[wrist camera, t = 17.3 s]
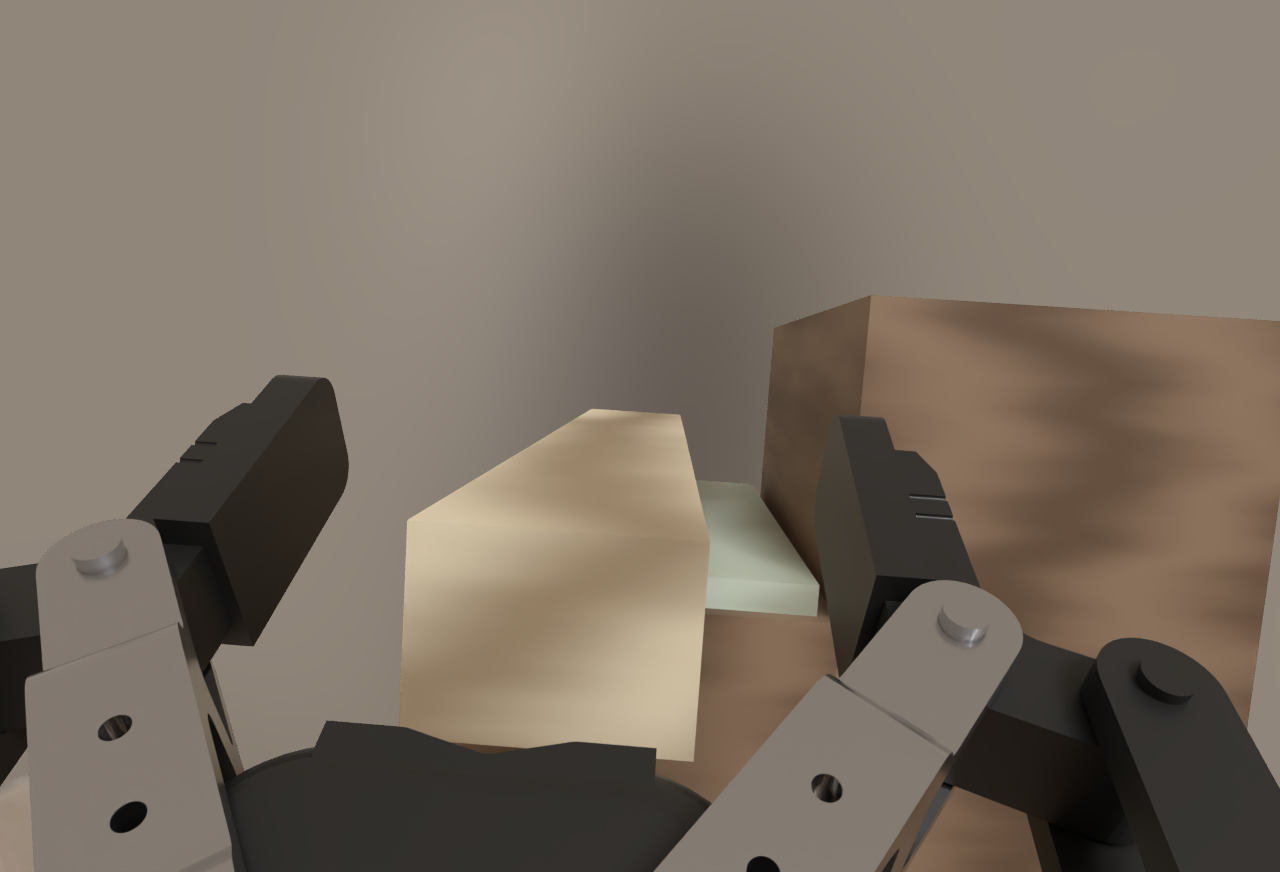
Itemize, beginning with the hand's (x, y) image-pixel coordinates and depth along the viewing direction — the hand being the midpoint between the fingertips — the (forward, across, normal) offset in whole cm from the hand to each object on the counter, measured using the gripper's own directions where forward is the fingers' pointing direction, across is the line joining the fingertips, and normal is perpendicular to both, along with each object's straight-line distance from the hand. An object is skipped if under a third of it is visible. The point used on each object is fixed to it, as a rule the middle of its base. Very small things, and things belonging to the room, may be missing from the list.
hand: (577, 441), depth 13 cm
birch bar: (+7, 0, +9) cm, 11 cm away
